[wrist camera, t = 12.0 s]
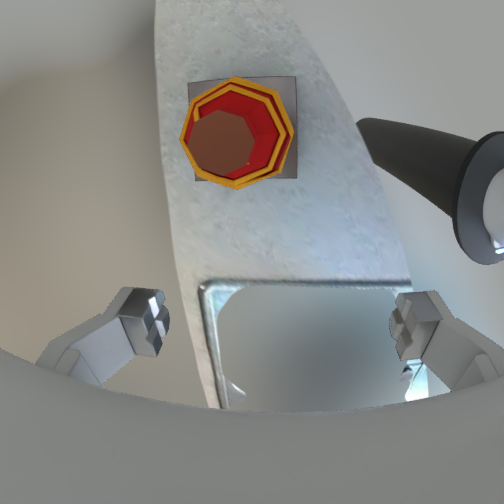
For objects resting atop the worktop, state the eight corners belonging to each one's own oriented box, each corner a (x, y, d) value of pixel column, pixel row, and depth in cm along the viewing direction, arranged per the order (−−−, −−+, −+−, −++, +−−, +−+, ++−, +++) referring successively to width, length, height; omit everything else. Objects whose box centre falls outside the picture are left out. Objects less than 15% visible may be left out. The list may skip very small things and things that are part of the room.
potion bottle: (180, 133, 30) (115, 157, 17) (240, 66, 26) (214, 31, 12) (247, 190, 33) (231, 252, 19) (310, 127, 28) (343, 144, 15)
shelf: (291, 82, 32) (295, 76, 26) (292, 166, 38) (297, 178, 32) (201, 86, 33) (187, 83, 27) (207, 168, 39) (195, 181, 32)
